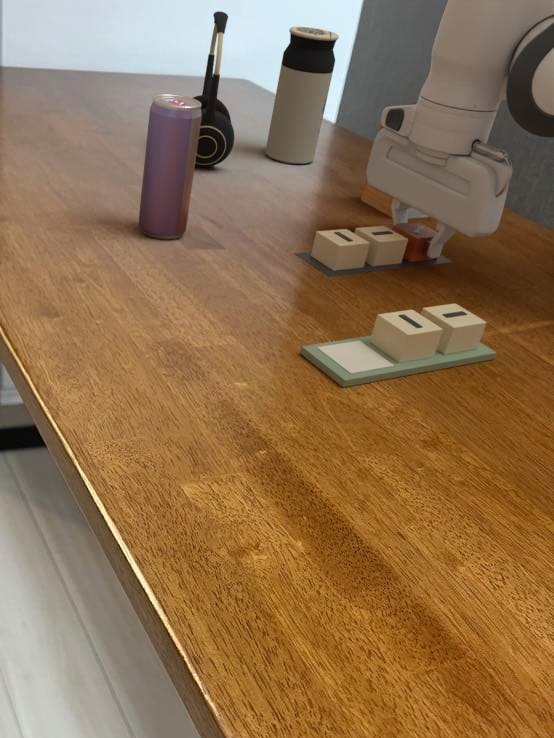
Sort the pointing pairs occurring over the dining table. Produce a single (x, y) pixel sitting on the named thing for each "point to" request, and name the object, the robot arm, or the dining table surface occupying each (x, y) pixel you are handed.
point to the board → (360, 251)
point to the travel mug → (301, 95)
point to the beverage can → (169, 165)
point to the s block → (415, 240)
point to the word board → (404, 346)
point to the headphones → (214, 107)
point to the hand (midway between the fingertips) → (413, 246)
